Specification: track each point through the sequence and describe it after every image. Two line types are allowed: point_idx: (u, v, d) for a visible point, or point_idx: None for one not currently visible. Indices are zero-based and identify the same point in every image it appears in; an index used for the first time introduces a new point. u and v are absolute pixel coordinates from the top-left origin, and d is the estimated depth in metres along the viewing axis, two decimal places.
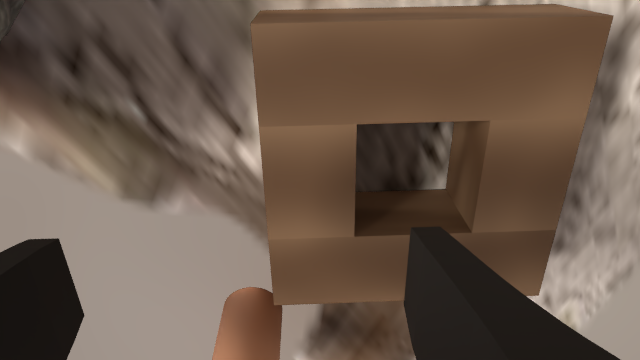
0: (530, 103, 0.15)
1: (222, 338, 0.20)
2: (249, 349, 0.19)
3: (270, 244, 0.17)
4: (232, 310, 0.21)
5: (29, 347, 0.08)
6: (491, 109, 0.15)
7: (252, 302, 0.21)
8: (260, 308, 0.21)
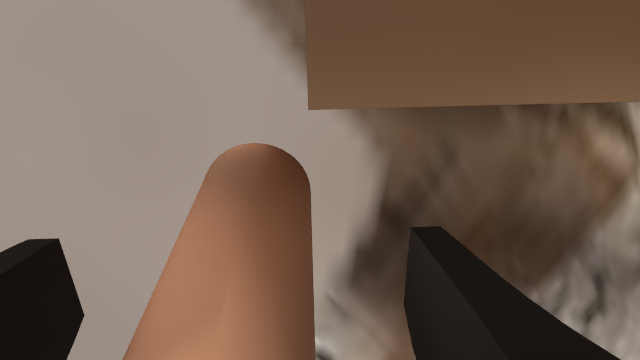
0: None
1: (195, 212, 0.10)
2: (250, 220, 0.09)
3: None
4: (218, 172, 0.11)
5: (29, 347, 0.08)
6: None
7: (257, 160, 0.11)
8: (272, 169, 0.11)
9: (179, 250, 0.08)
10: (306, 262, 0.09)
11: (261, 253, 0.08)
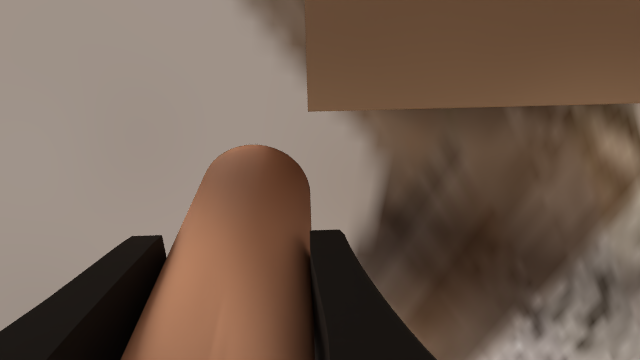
0: None
1: (191, 215, 0.09)
2: (249, 224, 0.08)
3: None
4: (215, 175, 0.11)
5: None
6: None
7: (255, 162, 0.11)
8: (271, 171, 0.11)
9: (175, 256, 0.08)
10: (306, 268, 0.08)
11: (259, 259, 0.07)
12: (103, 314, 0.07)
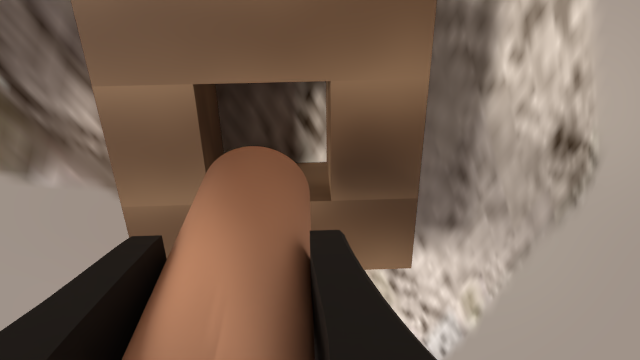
0: (369, 63, 0.14)
1: (193, 216, 0.09)
2: (251, 227, 0.08)
3: (124, 212, 0.17)
4: (217, 175, 0.11)
5: None
6: (329, 69, 0.14)
7: (257, 164, 0.11)
8: (273, 174, 0.11)
9: (177, 256, 0.08)
10: (307, 272, 0.09)
11: (262, 262, 0.07)
12: (103, 314, 0.07)
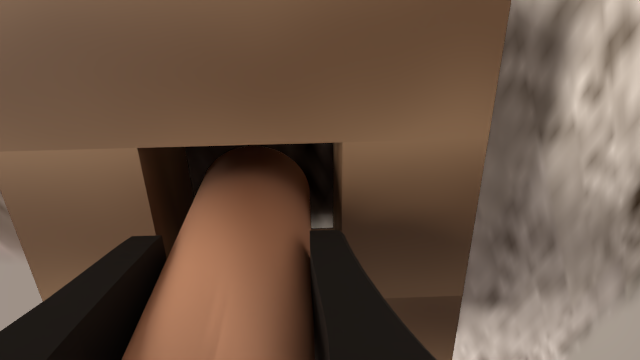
0: (400, 116, 0.10)
1: (193, 215, 0.09)
2: (252, 227, 0.08)
3: None
4: (217, 175, 0.11)
5: None
6: (341, 125, 0.10)
7: (258, 163, 0.11)
8: (274, 173, 0.11)
9: (177, 256, 0.08)
10: (307, 272, 0.09)
11: (262, 262, 0.07)
12: (103, 314, 0.07)
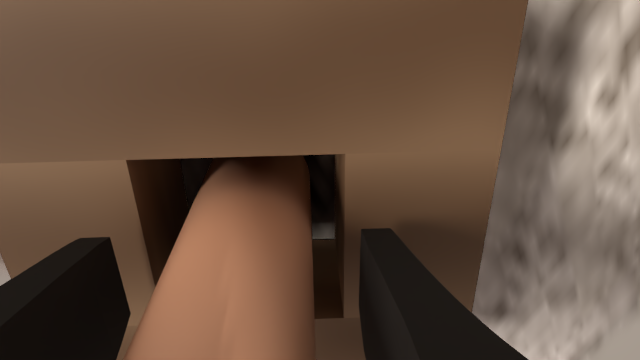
0: (407, 126, 0.09)
1: (204, 192, 0.10)
2: (258, 200, 0.09)
3: None
4: (225, 158, 0.11)
5: (86, 345, 0.08)
6: (344, 136, 0.09)
7: None
8: (276, 156, 0.11)
9: (191, 225, 0.09)
10: (307, 241, 0.09)
11: (268, 229, 0.08)
12: (33, 316, 0.07)
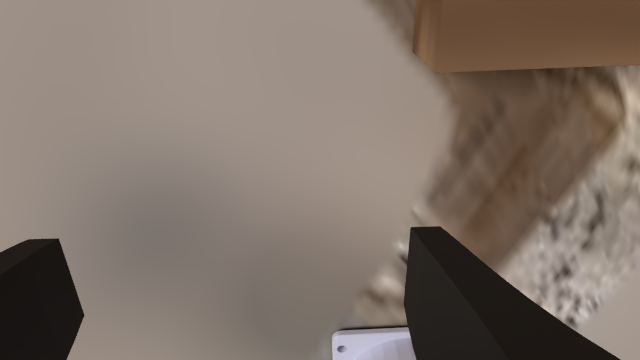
0: None
1: None
2: None
3: None
4: None
5: (29, 347, 0.08)
6: None
7: None
8: None
9: None
10: None
11: None
12: None
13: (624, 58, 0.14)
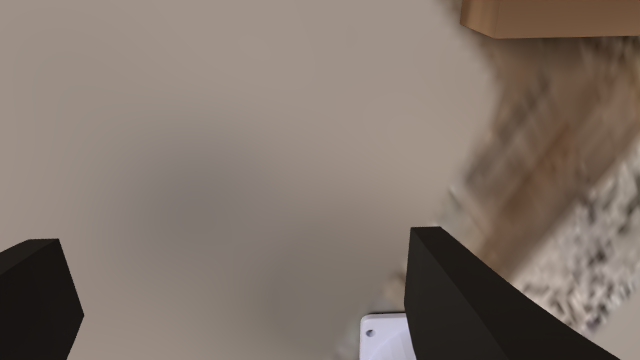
0: None
1: None
2: None
3: None
4: None
5: (29, 347, 0.08)
6: None
7: None
8: None
9: None
10: None
11: None
12: None
13: None
